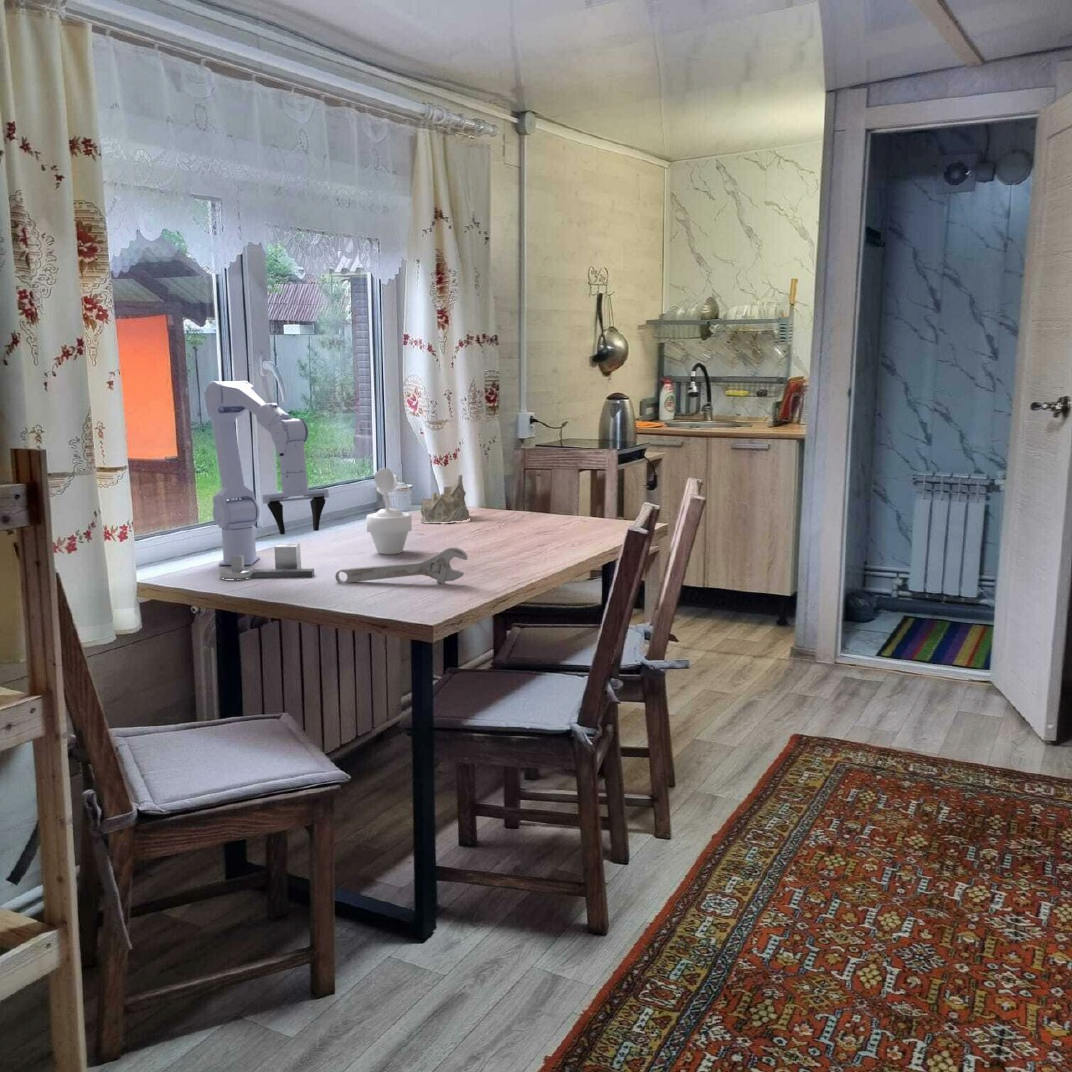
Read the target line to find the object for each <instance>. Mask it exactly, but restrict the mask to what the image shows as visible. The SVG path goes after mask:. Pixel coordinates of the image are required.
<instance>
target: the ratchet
mask: <svg viewBox="0 0 1072 1072" xmlns="http://www.w3.org/2000/svg"><path fill="white" fill-rule="evenodd" d="M245 566H246V565H244V555H232V556H231V565H230V567H229V568H224V569H222V570H220V571H219V578H224V579H234V580H237V579H246V578H252V579H280V578H281V579H285V578H286V579H289V578H292V579H293V578H295V579H296V578H297V579H298V578H313V577H314V576H315V568H301V569H275V568H265V569H264V568H261V569H260V568H257V569H256V568H254V567H248V566H247V567H245ZM237 581H238V580H237Z"/></svg>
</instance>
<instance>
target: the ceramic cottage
mask: <svg viewBox="0 0 1072 1072" xmlns="http://www.w3.org/2000/svg"><path fill="white" fill-rule="evenodd" d="M466 493H467V492H466V491H465V489H464V485H463V475H462V474H458V478H457V479H456V481H455V482H454V483H453V485H452V486H444V487H443V493H441V494H438V493H437V492H432V493H431V498H423V499H422V501H421V508H420V513H421V516H422V518H421V519H420V522H421V521H423V522H451V521H463V520H467V519H469V518H470V517H471V516H470V513H469V511H470V510H469V509H468V507H467V503H466V501H465V497H466V495H467V494H466Z"/></svg>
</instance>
